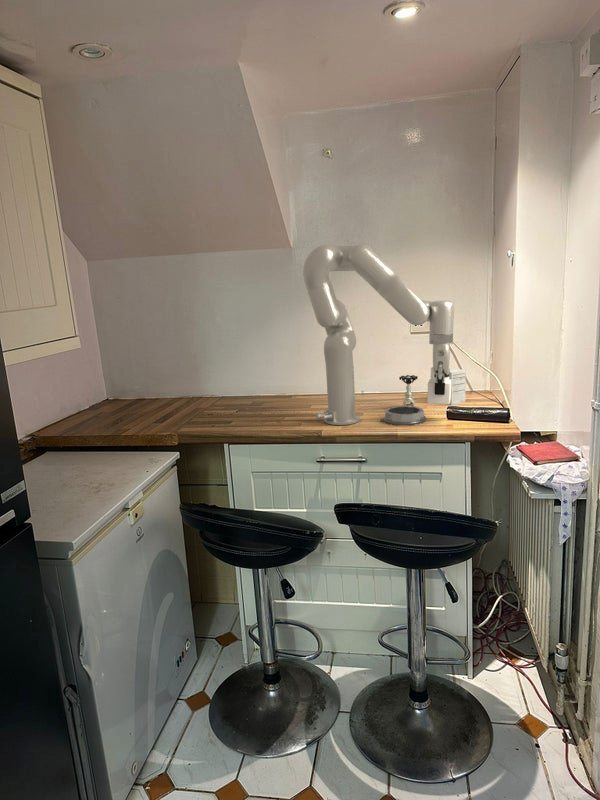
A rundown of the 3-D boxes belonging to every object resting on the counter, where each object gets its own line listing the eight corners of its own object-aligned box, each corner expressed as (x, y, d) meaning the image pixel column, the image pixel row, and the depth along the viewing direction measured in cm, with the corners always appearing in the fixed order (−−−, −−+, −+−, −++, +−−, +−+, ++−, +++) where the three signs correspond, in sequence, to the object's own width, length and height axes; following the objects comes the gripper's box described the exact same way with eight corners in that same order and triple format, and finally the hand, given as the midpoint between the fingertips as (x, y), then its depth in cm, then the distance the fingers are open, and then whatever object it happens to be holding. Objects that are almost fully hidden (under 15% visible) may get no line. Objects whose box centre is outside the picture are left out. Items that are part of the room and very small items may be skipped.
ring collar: (400, 427, 188) (399, 417, 188) (375, 419, 201) (375, 409, 200) (433, 420, 194) (433, 410, 194) (408, 413, 207) (407, 403, 206)
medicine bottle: (450, 400, 195) (452, 365, 192) (449, 404, 188) (450, 368, 185) (429, 399, 197) (430, 364, 194) (427, 403, 190) (428, 367, 187)
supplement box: (437, 402, 221) (437, 369, 218) (452, 399, 224) (452, 367, 221) (451, 405, 214) (451, 372, 212) (466, 402, 218) (466, 369, 215)
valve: (417, 405, 217) (416, 374, 214) (418, 410, 211) (418, 377, 208) (399, 406, 218) (398, 375, 215) (400, 410, 211) (399, 378, 209)
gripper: (453, 342, 179) (451, 398, 182) (452, 336, 195) (450, 387, 199) (429, 342, 180) (427, 397, 184) (429, 335, 197) (428, 386, 201)
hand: (439, 391), depth 192 cm, fingers closed on medicine bottle, 7 cm apart
